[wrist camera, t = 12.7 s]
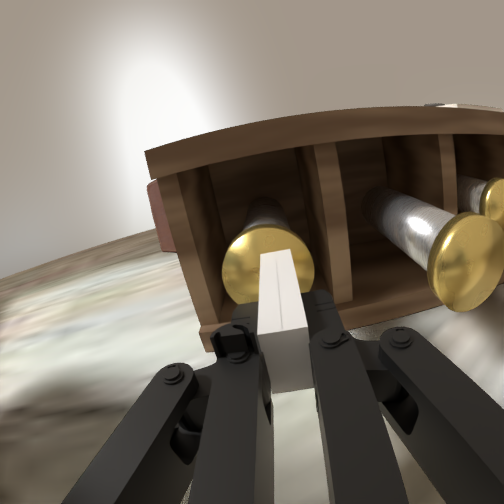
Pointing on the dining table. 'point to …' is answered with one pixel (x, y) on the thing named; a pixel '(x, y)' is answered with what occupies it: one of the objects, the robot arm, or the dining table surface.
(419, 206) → the button
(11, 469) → the dining table surface
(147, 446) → the robot arm
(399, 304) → the box
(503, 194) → the button
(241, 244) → the button
